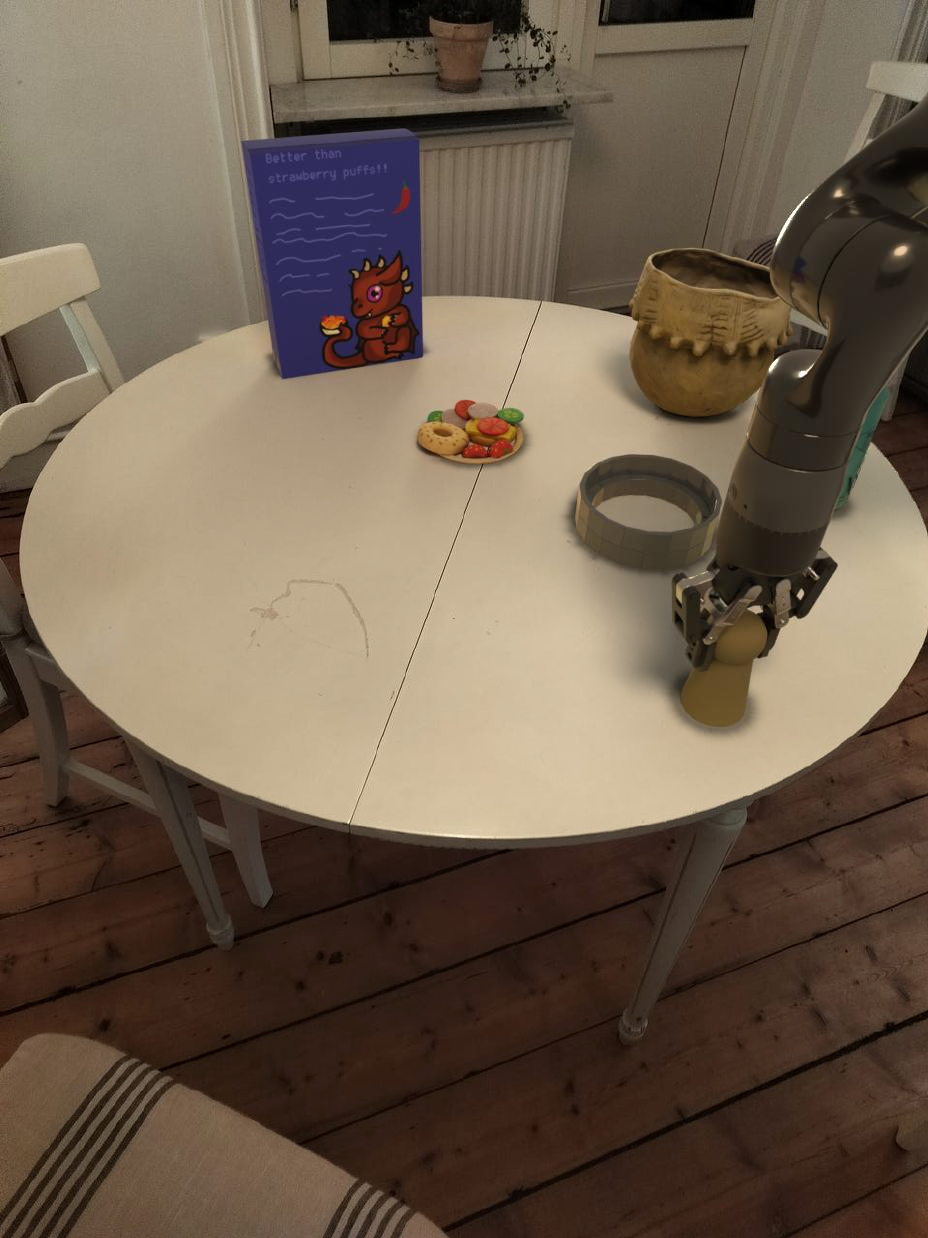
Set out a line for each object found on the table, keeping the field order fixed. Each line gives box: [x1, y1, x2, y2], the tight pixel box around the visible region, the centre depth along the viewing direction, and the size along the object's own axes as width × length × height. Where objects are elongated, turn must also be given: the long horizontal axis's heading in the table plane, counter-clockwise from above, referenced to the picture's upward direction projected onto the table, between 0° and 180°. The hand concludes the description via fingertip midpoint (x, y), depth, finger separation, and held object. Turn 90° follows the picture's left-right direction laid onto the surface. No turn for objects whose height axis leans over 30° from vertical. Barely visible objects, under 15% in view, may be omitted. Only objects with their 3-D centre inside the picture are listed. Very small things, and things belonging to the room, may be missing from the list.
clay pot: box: [628, 247, 794, 418], centre depth 111 cm, size 21×21×20 cm
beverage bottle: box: [835, 385, 891, 510], centre depth 94 cm, size 6×7×20 cm
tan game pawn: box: [679, 606, 767, 728], centre depth 73 cm, size 6×6×11 cm
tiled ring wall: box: [574, 453, 723, 571], centre depth 95 cm, size 16×16×6 cm
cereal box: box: [240, 127, 424, 380], centre depth 116 cm, size 22×6×30 cm, turn 111°
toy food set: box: [416, 399, 525, 465], centre depth 109 cm, size 13×13×3 cm
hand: (727, 657), depth 72 cm, fingers closed on tan game pawn, 5 cm apart
